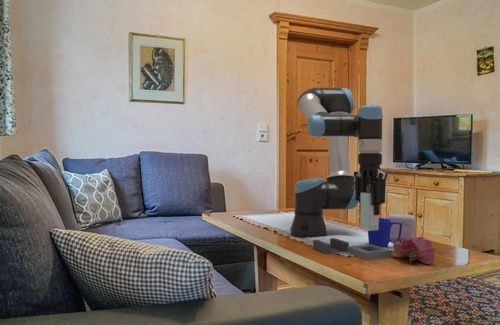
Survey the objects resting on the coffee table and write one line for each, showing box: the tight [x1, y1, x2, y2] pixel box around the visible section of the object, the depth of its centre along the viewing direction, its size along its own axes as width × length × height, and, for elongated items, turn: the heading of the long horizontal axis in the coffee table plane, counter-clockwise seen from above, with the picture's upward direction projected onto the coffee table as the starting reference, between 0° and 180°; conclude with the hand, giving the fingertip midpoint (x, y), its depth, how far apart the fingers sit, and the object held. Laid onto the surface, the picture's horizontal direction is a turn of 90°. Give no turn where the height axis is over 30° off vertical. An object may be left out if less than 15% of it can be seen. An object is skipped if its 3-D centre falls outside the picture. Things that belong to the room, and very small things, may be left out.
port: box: [346, 243, 393, 261], centre depth 129 cm, size 10×10×3 cm
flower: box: [392, 236, 436, 265], centre depth 123 cm, size 11×10×10 cm
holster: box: [312, 237, 350, 255], centre depth 135 cm, size 8×9×4 cm
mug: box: [367, 217, 402, 249], centre depth 142 cm, size 8×12×10 cm
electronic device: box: [386, 213, 416, 241], centre depth 153 cm, size 10×5×10 cm, turn 63°
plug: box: [359, 184, 378, 232], centre depth 128 cm, size 4×4×14 cm
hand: (369, 223), depth 128 cm, fingers closed on plug, 4 cm apart
